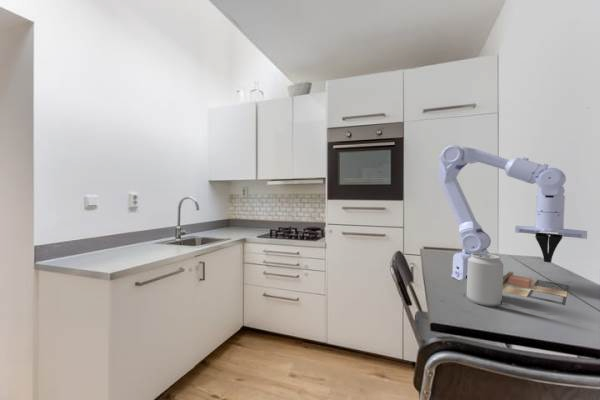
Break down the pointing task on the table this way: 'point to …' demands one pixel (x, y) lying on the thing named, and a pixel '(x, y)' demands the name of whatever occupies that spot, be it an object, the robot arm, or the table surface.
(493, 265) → the can
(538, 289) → the trap board
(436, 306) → the table surface
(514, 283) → the tile block
